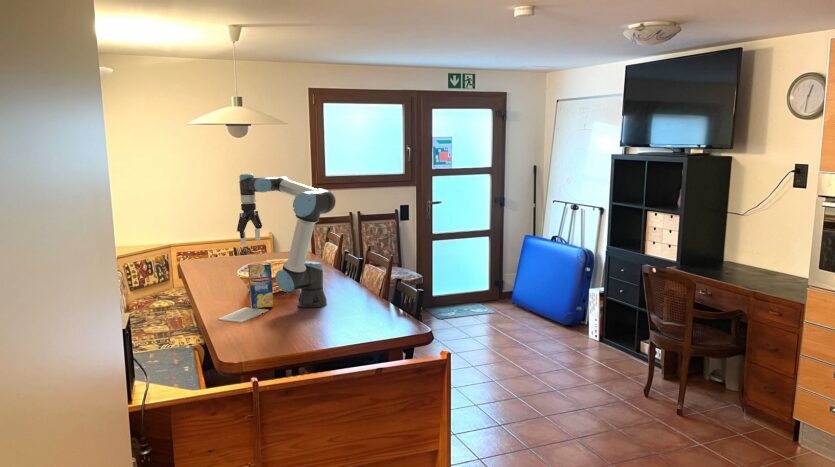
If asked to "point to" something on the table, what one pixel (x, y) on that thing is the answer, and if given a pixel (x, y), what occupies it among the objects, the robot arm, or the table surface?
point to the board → (243, 315)
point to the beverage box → (260, 285)
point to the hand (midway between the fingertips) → (250, 242)
